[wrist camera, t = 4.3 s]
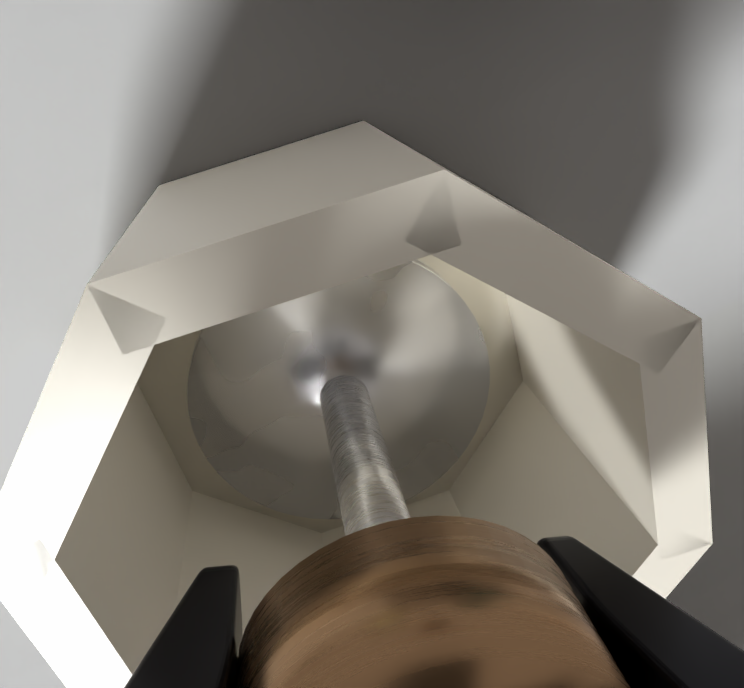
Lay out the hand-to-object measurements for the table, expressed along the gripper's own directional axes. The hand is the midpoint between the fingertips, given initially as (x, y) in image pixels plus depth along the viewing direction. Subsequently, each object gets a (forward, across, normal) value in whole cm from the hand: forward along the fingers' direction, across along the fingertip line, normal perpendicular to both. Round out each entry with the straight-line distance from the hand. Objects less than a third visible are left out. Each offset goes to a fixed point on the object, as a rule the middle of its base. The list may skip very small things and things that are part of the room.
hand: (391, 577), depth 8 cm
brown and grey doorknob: (+5, 0, 0) cm, 5 cm away
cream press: (+6, 0, 0) cm, 6 cm away
